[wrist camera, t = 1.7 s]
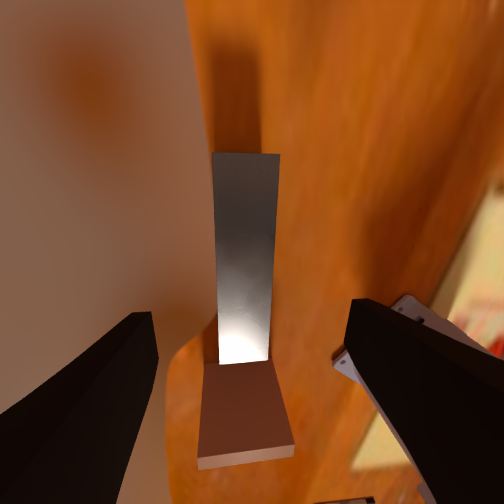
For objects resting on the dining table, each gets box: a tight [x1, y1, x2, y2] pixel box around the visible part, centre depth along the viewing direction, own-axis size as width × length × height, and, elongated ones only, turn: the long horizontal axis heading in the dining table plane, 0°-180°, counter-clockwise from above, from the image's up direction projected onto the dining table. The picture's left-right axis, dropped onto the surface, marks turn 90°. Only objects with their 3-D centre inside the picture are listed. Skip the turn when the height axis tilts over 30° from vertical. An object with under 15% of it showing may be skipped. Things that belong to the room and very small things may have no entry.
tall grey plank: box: [212, 152, 280, 364], centre depth 15 cm, size 12×3×5 cm, turn 178°
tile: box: [197, 358, 295, 470], centre depth 18 cm, size 2×6×7 cm, turn 89°
